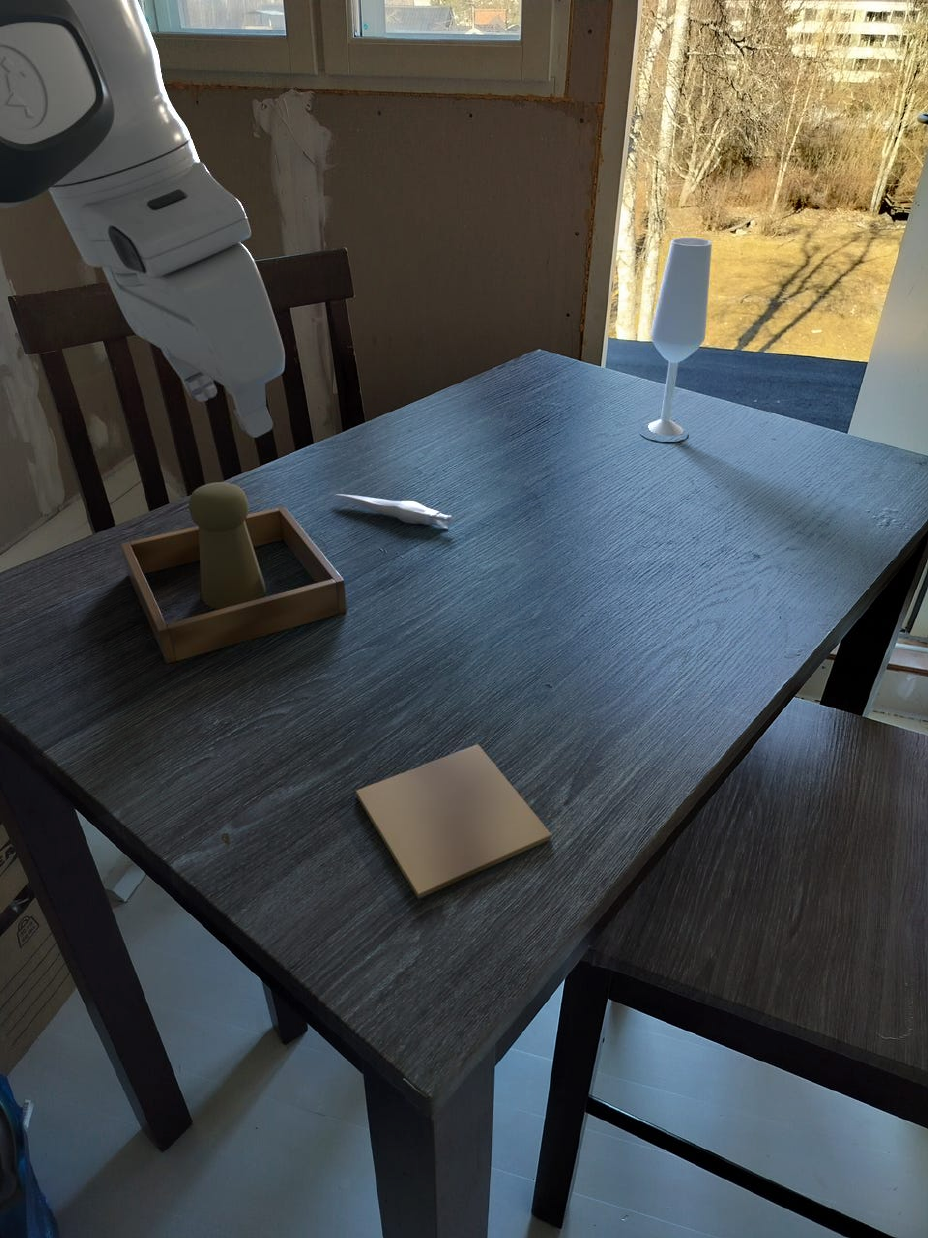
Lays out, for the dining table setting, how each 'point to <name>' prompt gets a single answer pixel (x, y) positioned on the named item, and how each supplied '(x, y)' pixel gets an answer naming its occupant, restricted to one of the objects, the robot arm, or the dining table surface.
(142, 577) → the open box
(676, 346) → the champagne flute
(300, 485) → the dining table surface
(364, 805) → the coaster
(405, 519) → the white animal figurine
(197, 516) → the olive game pawn
